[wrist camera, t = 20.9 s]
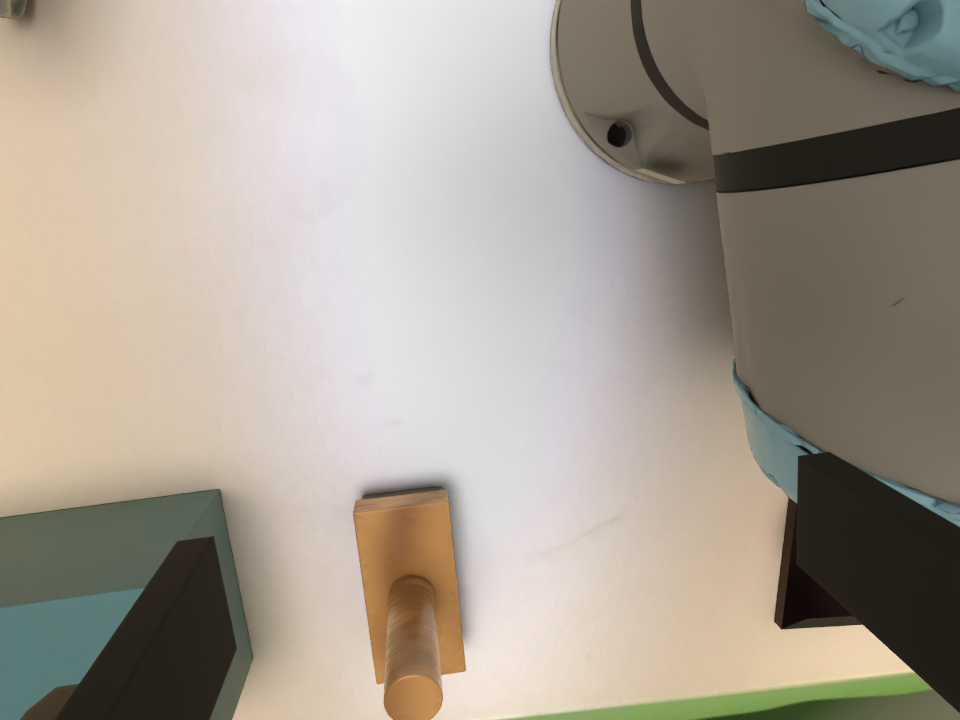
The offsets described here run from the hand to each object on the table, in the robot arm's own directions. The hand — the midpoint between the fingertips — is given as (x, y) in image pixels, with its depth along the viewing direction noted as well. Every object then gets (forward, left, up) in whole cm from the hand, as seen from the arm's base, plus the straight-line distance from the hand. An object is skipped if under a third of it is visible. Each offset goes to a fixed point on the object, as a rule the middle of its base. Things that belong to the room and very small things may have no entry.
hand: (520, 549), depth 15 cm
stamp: (+4, +15, -27) cm, 31 cm away
